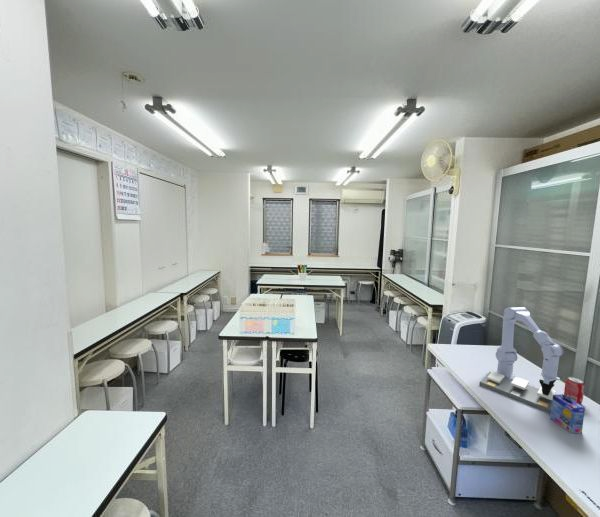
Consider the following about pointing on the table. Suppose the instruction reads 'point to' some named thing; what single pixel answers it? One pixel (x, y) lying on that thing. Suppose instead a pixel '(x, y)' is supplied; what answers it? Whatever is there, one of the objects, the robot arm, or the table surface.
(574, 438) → the table surface
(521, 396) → the switch panel
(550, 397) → the switch
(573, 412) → the ink cartridge box
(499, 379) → the switch
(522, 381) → the switch
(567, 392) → the soda can
